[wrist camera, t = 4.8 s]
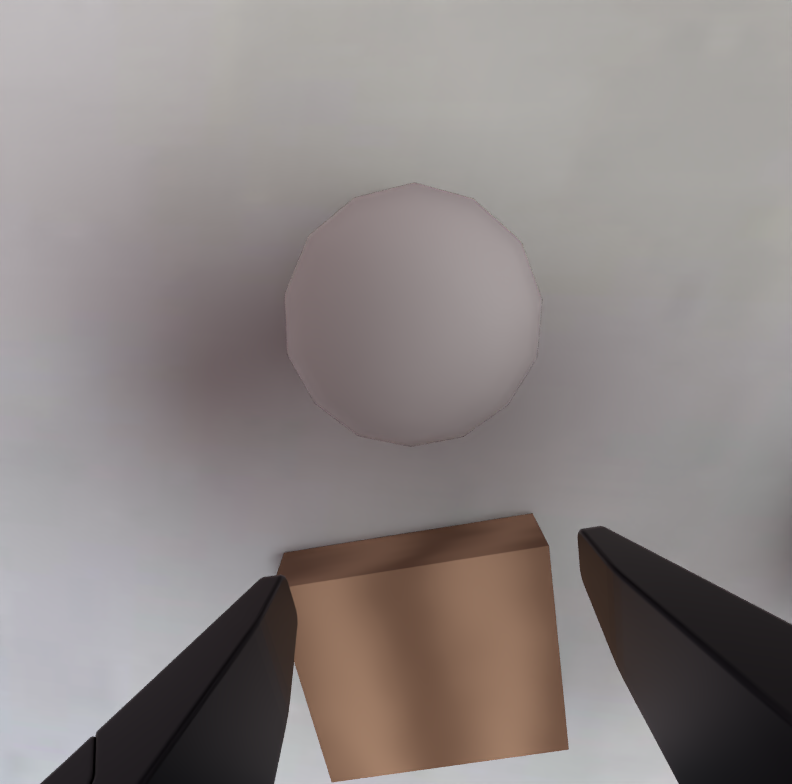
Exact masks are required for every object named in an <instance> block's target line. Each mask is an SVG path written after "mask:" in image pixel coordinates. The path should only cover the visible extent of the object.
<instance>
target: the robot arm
mask: <svg viewBox="0 0 792 784" xmlns="http://www.w3.org/2000/svg"><path fill="white" fill-rule="evenodd" d="M578 548H579V562H580V572H581V576H582V580H583V583H584V586H585V588H586V591H587V593H588V596H589V598H590V601H591V603H592V606H593V608H594V611H595V613H596V616H597V618H598V621H599V623H600V626H601V628H602V631H603V633H604V636H605V638H606V641H607V643H608V646H609V648H610V651H611V653H612V655H613V658H614V660H615V663H616V665H617V667H618V669H619V671H620V673H621V675H622V677H623V679H624V681H625V683H626V685H627V687H628V689H629V691H630V693H631V695H632V696H633V698H634V700H635V702H636V704H637V706H638V708H639V710H640V712H641V713H642V715H643V717H644V719H645V721H646V723H647V725H648V727H649V728H650V730H651V732H652V734H653V736H654V738H655V740H656V742H657V744H658V745H659V747H660V749H661V751H662V753H663V755H664V757H665V759H666V760H667V762H668V764H669V766H670V768H671V770H672V772H673V774H674V776H675V777H676V779H677V781H678V783H679V784H792V624H790V623H788V622H786V621H784V620H782V619H780V618H778V617H776V616H775V615H773V614H771V613H769V612H767V611H765V610H763V609H761V608H759V607H757V606H755V605H753V604H751V603H750V602H748V601H746V600H744V599H742V598H740V597H738V596H736V595H734V594H732V593H730V592H728V591H727V590H725V589H723V588H721V587H719V586H717V585H715V584H713V583H711V582H709V581H707V580H705V579H703V578H702V577H700V576H698V575H696V574H694V573H692V572H690V571H688V570H686V569H684V568H682V567H680V566H679V565H677V564H675V563H673V562H671V561H669V560H667V559H665V558H663V557H661V556H659V555H657V554H656V553H654V552H652V551H650V550H648V549H646V548H644V547H642V546H640V545H638V544H636V543H634V542H632V541H631V540H629V539H627V538H625V537H623V536H621V535H619V534H617V533H615V532H613V531H611V530H609V529H608V528H605V527H603V526H597V527H591V528H584V529H581V530H580V531H579V532H578ZM297 625H298V619H297V611H296V608H295V604H294V601H293V597H292V594H291V590H290V587H289V584H288V581H287V579H286V577H285V576H284V575H275V576H268V577H263V578H261V579H260V580H258V581H257V582H256V583H255V584H254V585H253V586H252V587H251V588H250V589H249V590H248V591H247V592H246V593H245V594H243V595H242V596H241V597H240V598H239V599H238V600H237V601H236V602H235V603H234V604H233V605H232V606H231V607H230V608H228V609H227V610H226V611H225V612H224V613H223V614H222V615H221V616H220V617H219V618H218V619H217V620H216V621H215V622H214V623H212V624H211V625H210V626H209V627H208V628H207V629H206V630H205V631H204V632H203V633H202V634H201V635H200V636H199V637H197V638H196V639H195V640H194V641H193V642H192V643H191V644H190V645H189V646H188V647H187V648H186V649H185V650H184V651H183V652H181V653H180V654H179V655H178V656H177V657H176V658H175V659H174V660H173V661H172V662H171V663H170V664H169V665H168V666H166V667H165V668H164V669H163V670H162V671H161V672H160V673H159V674H158V675H157V676H156V677H155V678H154V679H153V680H152V681H150V682H149V683H148V684H147V685H146V686H145V687H144V688H143V689H142V690H141V691H140V692H139V693H138V694H137V695H135V696H134V697H133V698H132V699H131V700H130V701H129V702H128V703H127V704H126V705H125V706H124V707H123V708H122V709H120V710H119V711H118V712H117V713H116V714H115V715H114V716H113V717H112V718H111V719H110V720H109V721H108V722H107V723H105V724H104V725H103V726H102V727H101V728H100V729H99V730H98V731H97V732H96V737H94V736H93V737H90V738H89V739H88V740H87V741H86V742H85V743H84V744H83V745H82V746H81V747H80V748H79V749H78V750H76V751H75V752H74V753H73V754H72V755H71V756H70V757H69V758H68V759H67V760H66V761H65V762H64V763H62V764H61V765H60V766H59V767H58V768H57V769H56V770H55V771H54V772H53V773H51V774H50V775H49V776H48V777H47V778H46V779H45V780H44V781H43V782H42V783H40V784H274V781H275V777H276V772H277V767H278V762H279V757H280V753H281V748H282V743H283V738H284V733H285V729H286V723H287V718H288V712H289V704H290V695H291V685H292V675H293V665H294V656H295V646H296V636H297Z"/></svg>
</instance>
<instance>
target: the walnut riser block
mask: <svg viewBox="0 0 792 784" xmlns="http://www.w3.org/2000/svg"><path fill="white" fill-rule="evenodd" d="M277 575H284V576H285V577H286V579H287V581H288V584H289V587H290V590H291V594H292V597H293V601H294V604H295V608H296V611H297V619H298V625H297V636H296V646H295V656H294V662H295V666H296V669H297V672H298V675H299V679H300V682H301V685H302V688H303V691H304V695H305V698H306V701H307V704H308V707H309V711H310V714H311V717H312V720H313V724H314V727H315V730H316V733H317V736H318V740H319V743H320V746H321V749H322V752H323V756H324V759H325V762H326V765H327V769H328V772H329V775H330V778H331V781H332V782H338V781H345V780H352V779H359V778H367V777H374V776H381V775H388V774H395V773H402V772H410V771H417V770H424V769H431V768H438V767H446V766H453V765H460V764H467V763H474V762H482V761H489V760H496V759H503V758H510V757H518V756H525V755H532V754H539V753H546V752H554V751H561V750H568V749H569V748H568V738H567V727H566V717H565V707H564V696H563V686H562V676H561V666H560V655H559V645H558V635H557V625H556V614H555V604H554V594H553V584H552V573H551V563H550V553H549V545H548V543H547V541H546V539H545V537H544V535H543V533H542V531H541V529H540V527H539V525H538V523H537V521H536V520H535V518H534V516H533V514H532V513H531V514H525V515H518V516H512V517H506V518H499V519H493V520H487V521H481V522H474V523H468V524H462V525H455V526H449V527H443V528H436V529H430V530H424V531H418V532H411V533H405V534H399V535H392V536H386V537H380V538H374V539H367V540H361V541H355V542H348V543H342V544H336V545H329V546H323V547H317V548H311V549H304V550H298V551H292V552H285V553H284V554H283V557H282V560H281V563H280V566H279V569H278V572H277Z"/></svg>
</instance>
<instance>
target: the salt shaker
mask: <svg viewBox="0 0 792 784" xmlns="http://www.w3.org/2000/svg"><path fill="white" fill-rule="evenodd" d="M541 310H542V297H541V294H540V291H539V289H538V286H537V283H536V280H535V277H534V275H533V272H532V269H531V266H530V264H529V261H528V258H527V255H526V252H525V250H524V247H523V244H522V243H521V241H520V240H519V239H518V238H517V237H516V236H515V235H514V234H513V233H511V232H510V231H509V230H508V229H507V228H506V227H505V226H504V225H502V224H501V223H500V222H499V221H498V220H497V219H496V218H495V217H493V216H492V215H491V214H490V213H489V212H488V211H487V210H486V209H484V208H483V207H482V206H481V205H480V204H479V203H478V202H477V201H475V200H474V199H473V198H469V197H465V196H462V195H458V194H454V193H451V192H447V191H444V190H440V189H436V188H433V187H429V186H425V185H422V184H418V183H410V184H406V185H402V186H398V187H394V188H390V189H386V190H382V191H378V192H374V193H370V194H366V195H362V196H358V197H355V198H353V199H352V200H351V201H350V202H349V203H347V204H346V205H345V206H344V207H343V208H341V209H340V210H339V211H338V212H337V213H335V214H334V215H333V216H332V217H331V218H329V219H328V220H327V221H326V222H325V223H323V224H322V225H321V226H320V227H319V228H317V229H316V230H315V231H314V232H313V233H311V234H310V235H309V236H308V238H307V240H306V243H305V245H304V248H303V250H302V253H301V255H300V258H299V260H298V263H297V265H296V268H295V270H294V272H293V275H292V277H291V280H290V282H289V285H288V287H287V290H286V293H285V316H286V338H287V355H288V357H289V359H290V360H291V362H292V364H293V366H294V367H295V369H296V371H297V373H298V375H299V376H300V378H301V380H302V382H303V383H304V385H305V387H306V389H307V390H308V392H309V394H310V396H311V398H312V399H313V401H314V403H315V404H316V405H318V406H319V407H320V408H322V409H323V410H324V411H326V412H327V413H328V414H330V415H331V416H332V417H334V418H335V419H336V420H338V421H339V422H340V423H342V424H343V425H344V426H346V427H347V428H348V429H350V430H351V431H352V432H354V433H355V434H356V435H358V436H361V437H366V438H371V439H376V440H380V441H385V442H390V443H395V444H400V445H405V446H410V447H412V446H417V445H422V444H428V443H433V442H438V441H443V440H449V439H454V438H459V437H464V436H465V435H467V434H468V433H469V432H471V431H472V430H474V429H475V428H476V427H478V426H479V425H480V424H482V423H483V422H485V421H486V420H487V419H489V418H490V417H492V416H493V415H494V414H496V413H497V412H499V411H500V410H501V409H503V408H504V407H506V406H507V405H508V404H509V402H510V401H511V399H512V397H513V396H514V394H515V392H516V391H517V389H518V388H519V386H520V384H521V383H522V381H523V379H524V378H525V376H526V375H527V373H528V371H529V370H530V368H531V366H532V365H533V363H534V361H535V360H536V358H537V355H538V343H539V332H540V321H541Z"/></svg>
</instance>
